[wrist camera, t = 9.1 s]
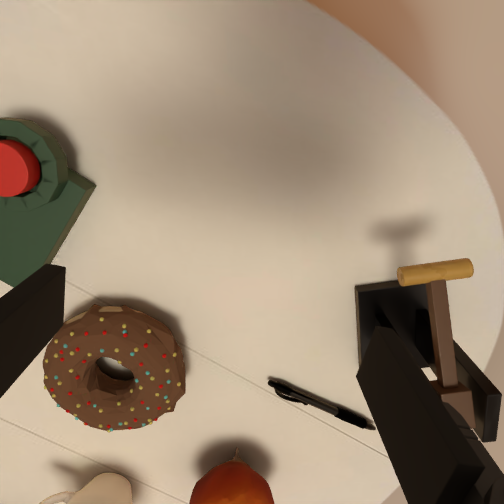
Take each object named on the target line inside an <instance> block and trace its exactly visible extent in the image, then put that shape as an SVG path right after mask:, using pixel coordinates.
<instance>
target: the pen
mask: <svg viewBox="0 0 504 504" xmlns="http://www.w3.org/2000/svg"><path fill="white" fill-rule="evenodd" d="M268 385H269V386H271V387H273V388H274V389H275V392H276V394H277V395H278V396H280V397H281V398H283V399H285V400H288V401H292V402H298V403H303V404H304V405H308V404H309V405H311V406H314V407H316V408H318V409H321V410H323V411H325V412H328V413H330V414H332V415H334V416H335V417H337V418H339V419H341V420H343V421H346V422H348V423H351V424H353V425H356V426H358V427H360V428H365V429H368V430H376V427H375V426H374V425H373V424H371V423H369V422H368V421H366V419H364V418H361V417H359V416H357V415H355V414H353V413H351V412H349V411H347V410H344V409H341V408H339V407H335V406H332V405H330V404H328V403H326V402H323V401H321V400H319V399H316V398H314V397H312V396H310V395H307V394H305V393H303V392H301V391H298V390H296V389H294V388H292V387H290V386H288V385H286V384H284V383H281V382H275V381H272V380H269V381H268ZM282 393H283V394H285V395H283V394H282ZM286 395H288V396H286ZM289 396H291V397H289ZM292 397H293V398H292Z"/></svg>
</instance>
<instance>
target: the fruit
mask: <svg viewBox="0 0 504 504" xmlns="http://www.w3.org/2000/svg"><path fill="white" fill-rule="evenodd" d="M238 451H239V448H236V452H235V456H234V458H233V459H232V460H230V461H227V462H225V463H222V464H220V465H218V466H216V467H214V468H212V469H211V470H210V471H209V472H208V473H207V474H206V475H205V476H203V477H202V478H201V479H200V480H199V481H197V483H196V485H195V487H194V489H193V492H192V495H191V499H190V503H189V504H274V500H273V497H272V493H271V490H270V487H269V485H268V483H267V482H266V480H265V479H264V478H263V477H262V476H261V475H259V474H258V473H257V472H255V471H254V470H253V469H252V468H251V467H250V466H249V465H248V464H246V463H245V462H244V461H243V460H242V459H241V458H240V457H239V456H238Z"/></svg>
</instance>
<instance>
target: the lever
mask: <svg viewBox="0 0 504 504" xmlns="http://www.w3.org/2000/svg"><path fill="white" fill-rule="evenodd" d="M473 272H474V269H473V265H472V262H471V261H470V260H469V259H467V258H463V259H456V260H448V261H441V262H434V263H426V264H419V265H412V266H404V267H399V268H398V269H397V278H398V281H399V284H400V285H401V286H410V285H417V284H425V283H426V291H427V300H428V308H429V316H430V324H431V332H432V340H433V348H434V356H435V364H436V372H437V380H433V381H430V383H431V384H432V386H433V387H434V389H435V390H436V392H437V393H438V395H439V396H440V398H441V399H442V401H443V402H447V403H449V404H450V405H451V406H452V407H454V408H455V409H456V410H457V411H458V412H459V413H460V414H461V415H462V416H463V418H464V419H465V420H466V422H467V423H468V425H469V426H470V429H472V428H476V424H475V416H474V407H473V399H472V391H471V390H470V389H469V388H467V387H466V386H465V385H463V384H462V383H461V382H459V381H458V378H457V370H456V362H455V353H454V345H453V337H452V329H451V320H450V312H449V304H448V296H447V288H446V281H447V280H454V279H462V278H469V277H471V276H472V275H473Z"/></svg>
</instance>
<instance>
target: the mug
mask: <svg viewBox="0 0 504 504" xmlns="http://www.w3.org/2000/svg"><path fill="white" fill-rule="evenodd" d="M62 501H63V502H65V503H66V504H132V491H131V484H130V482H129V481H128V480H127V479H126V478H125V477H123V476H121V475H119V474H116V473H102V474H99V475H97V476H96V477H94V478H93V479H92V480H91V481H90V482H89V483H88V484H87V485H86V486H85V487H84V488H82V489H81V490H80V491H77V492H69V491H66V492H61V493H57V494H55V495H52V496H50V497H48V498H46V499H45V500H43V501H42V502H40V503H39V504H54V503H58V502H62Z"/></svg>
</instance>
